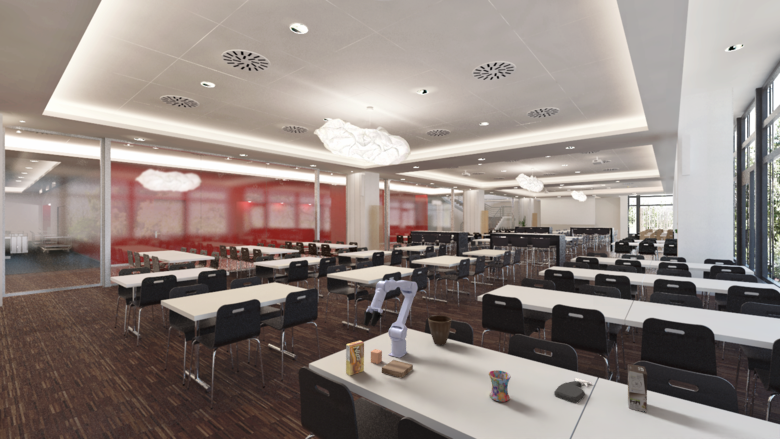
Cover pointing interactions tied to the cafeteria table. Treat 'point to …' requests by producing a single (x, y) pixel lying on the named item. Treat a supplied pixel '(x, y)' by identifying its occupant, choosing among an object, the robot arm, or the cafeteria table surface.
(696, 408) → the cafeteria table surface
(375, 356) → the terracotta block
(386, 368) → the walnut base
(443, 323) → the plant pot
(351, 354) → the candy box
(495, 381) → the mug
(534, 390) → the cafeteria table surface
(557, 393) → the spray bottle
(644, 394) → the coffee box
